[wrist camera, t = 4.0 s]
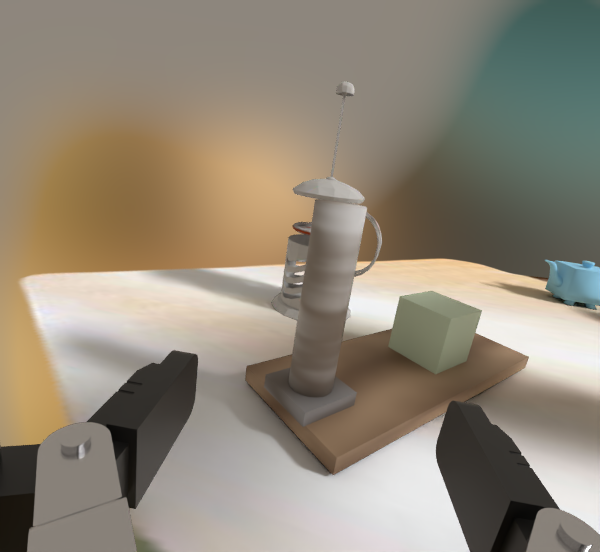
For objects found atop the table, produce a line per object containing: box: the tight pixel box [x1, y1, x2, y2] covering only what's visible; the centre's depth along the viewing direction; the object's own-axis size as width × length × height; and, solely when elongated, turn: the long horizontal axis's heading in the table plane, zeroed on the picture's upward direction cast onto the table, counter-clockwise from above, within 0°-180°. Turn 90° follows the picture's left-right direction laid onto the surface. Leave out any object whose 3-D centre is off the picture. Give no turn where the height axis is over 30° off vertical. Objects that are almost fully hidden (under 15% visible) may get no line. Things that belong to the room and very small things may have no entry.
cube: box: [388, 291, 482, 374], centre depth 32 cm, size 5×5×5 cm
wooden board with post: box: [245, 199, 529, 475], centre depth 29 cm, size 10×26×14 cm, turn 127°
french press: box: [271, 82, 382, 320], centre depth 40 cm, size 10×12×25 cm
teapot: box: [545, 260, 600, 309], centre depth 62 cm, size 12×6×8 cm, turn 82°
